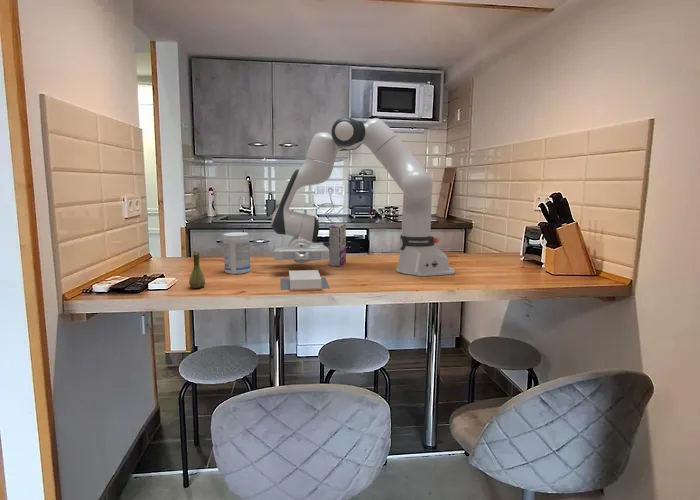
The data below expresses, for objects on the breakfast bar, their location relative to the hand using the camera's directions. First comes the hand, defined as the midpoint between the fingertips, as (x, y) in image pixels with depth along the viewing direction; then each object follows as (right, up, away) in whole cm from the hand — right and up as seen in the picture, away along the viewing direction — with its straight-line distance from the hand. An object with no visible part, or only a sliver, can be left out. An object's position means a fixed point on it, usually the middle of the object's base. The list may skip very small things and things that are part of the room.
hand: (303, 257), depth 161 cm
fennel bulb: (-34, -10, -11) cm, 37 cm away
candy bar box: (+11, -3, +31) cm, 33 cm away
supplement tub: (-26, -6, +13) cm, 30 cm away
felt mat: (+1, -9, -5) cm, 10 cm away
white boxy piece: (0, -6, -1) cm, 6 cm away
